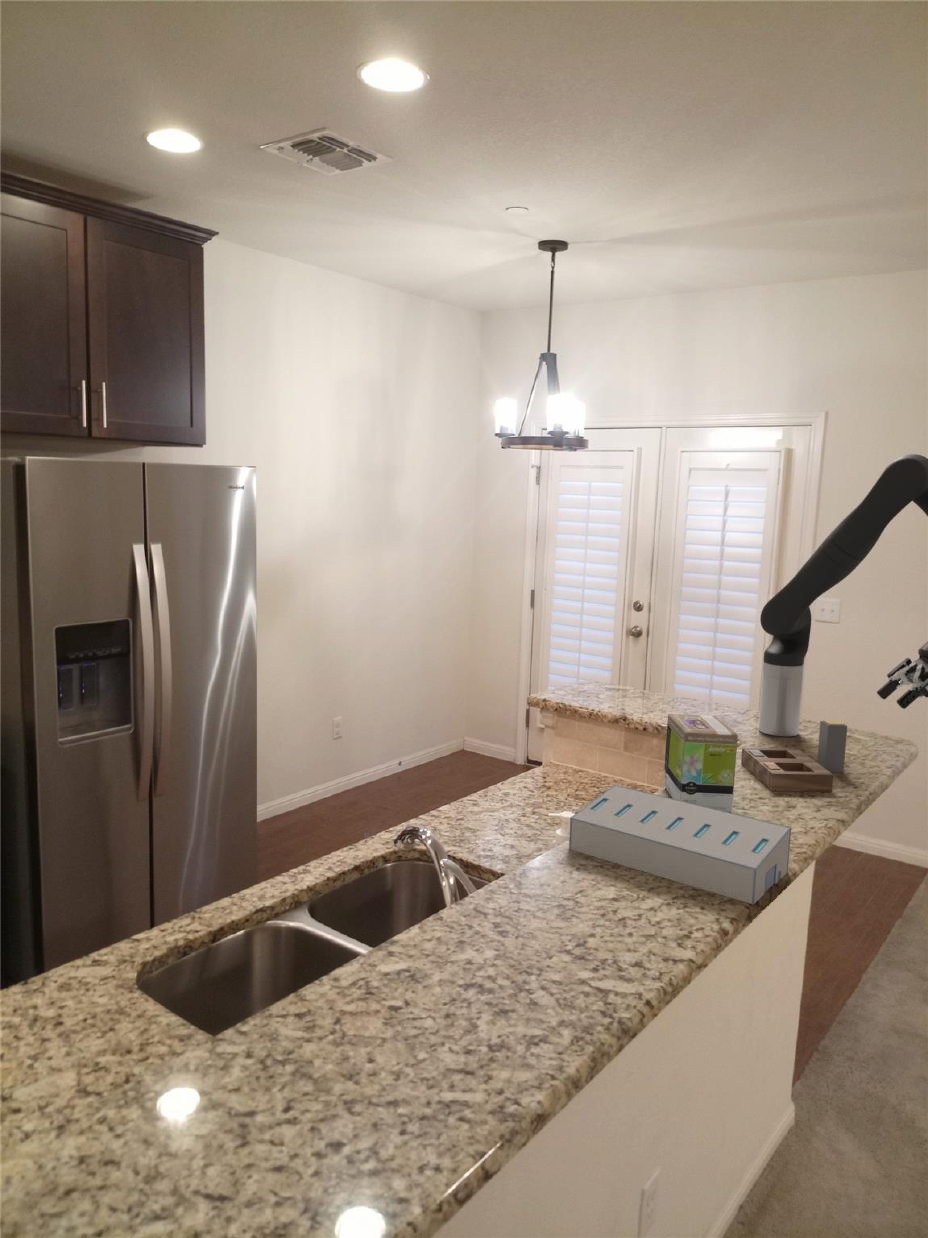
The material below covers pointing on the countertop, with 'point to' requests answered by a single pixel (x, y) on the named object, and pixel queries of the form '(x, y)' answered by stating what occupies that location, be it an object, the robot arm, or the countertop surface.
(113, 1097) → the countertop surface
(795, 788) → the dock
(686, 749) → the tea box
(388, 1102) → the countertop surface
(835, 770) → the grey rectangular block
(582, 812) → the multi-port usb hub
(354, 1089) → the countertop surface
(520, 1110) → the countertop surface
